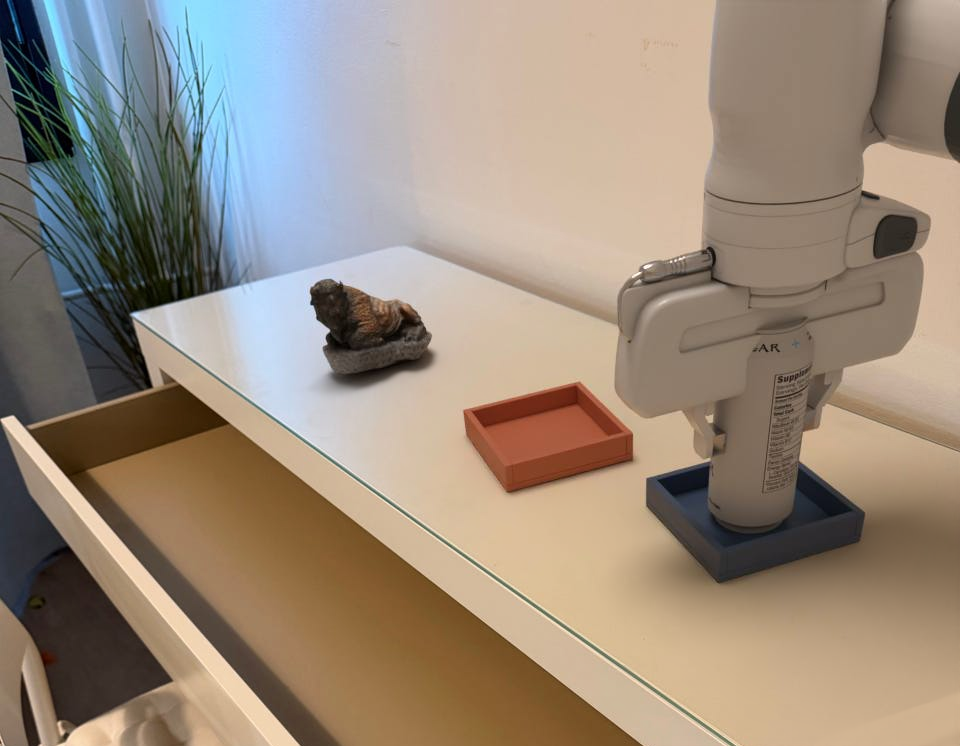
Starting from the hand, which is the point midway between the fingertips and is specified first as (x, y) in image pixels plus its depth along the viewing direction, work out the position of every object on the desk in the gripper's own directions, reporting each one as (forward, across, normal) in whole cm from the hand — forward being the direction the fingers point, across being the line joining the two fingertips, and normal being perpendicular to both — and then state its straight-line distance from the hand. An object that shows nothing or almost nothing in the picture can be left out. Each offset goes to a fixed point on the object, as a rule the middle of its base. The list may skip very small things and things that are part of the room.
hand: (756, 440), depth 65 cm
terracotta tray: (+7, -9, +18) cm, 21 cm away
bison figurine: (+7, -18, +42) cm, 46 cm away
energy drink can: (+6, 0, 0) cm, 6 cm away
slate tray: (+7, 0, 0) cm, 7 cm away
